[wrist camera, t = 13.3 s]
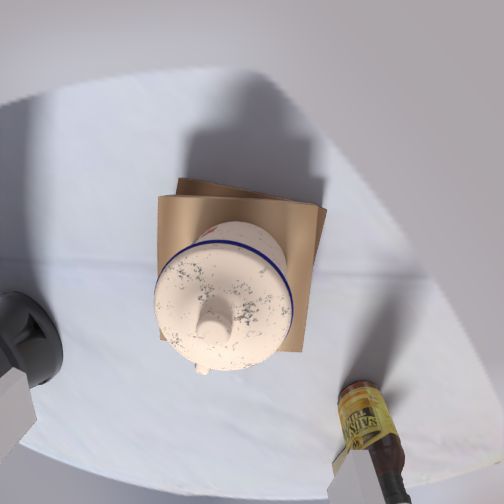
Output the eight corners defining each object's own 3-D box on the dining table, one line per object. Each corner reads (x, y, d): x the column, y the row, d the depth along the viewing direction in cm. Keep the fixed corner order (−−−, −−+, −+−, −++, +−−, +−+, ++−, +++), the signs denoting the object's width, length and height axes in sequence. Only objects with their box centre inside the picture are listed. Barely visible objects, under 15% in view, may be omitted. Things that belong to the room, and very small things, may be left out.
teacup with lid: (203, 203, 27) (153, 229, 16) (304, 238, 27) (322, 288, 16) (170, 321, 31) (122, 395, 19) (258, 352, 31) (247, 439, 19)
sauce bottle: (356, 371, 39) (402, 487, 19) (387, 388, 39) (439, 495, 20) (324, 405, 40) (349, 524, 21) (357, 420, 40) (390, 529, 21)
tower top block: (170, 323, 35) (160, 339, 31) (171, 194, 32) (158, 196, 28) (298, 334, 34) (302, 352, 30) (312, 202, 31) (318, 205, 27)
